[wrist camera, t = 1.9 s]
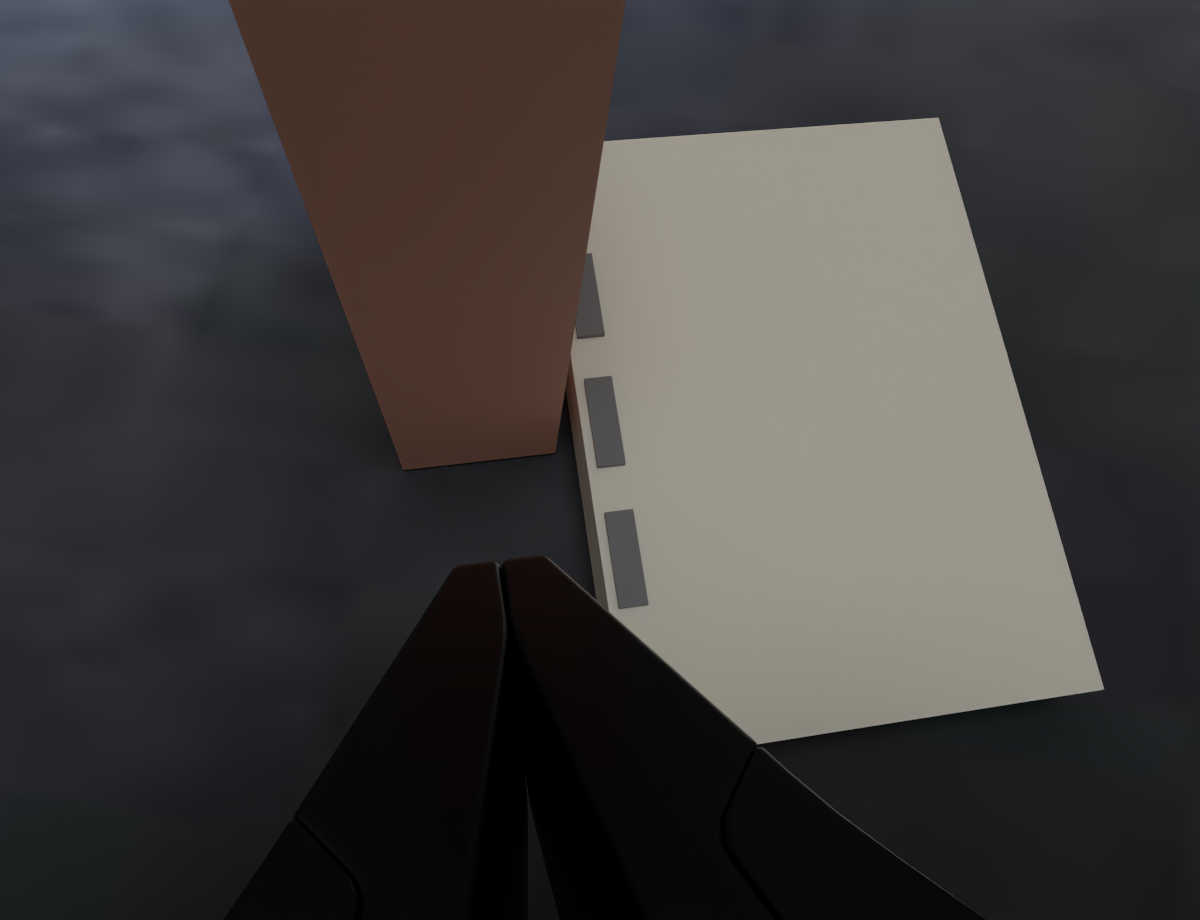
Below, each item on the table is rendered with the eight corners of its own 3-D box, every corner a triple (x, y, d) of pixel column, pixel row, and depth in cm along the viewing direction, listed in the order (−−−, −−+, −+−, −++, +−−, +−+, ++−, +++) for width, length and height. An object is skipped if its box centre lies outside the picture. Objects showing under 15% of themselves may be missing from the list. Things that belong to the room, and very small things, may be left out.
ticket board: (1051, 694, 22) (1108, 688, 20) (620, 763, 20) (632, 764, 18) (906, 165, 25) (941, 113, 23) (536, 193, 24) (539, 142, 22)
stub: (557, 452, 22) (647, -97, 8) (401, 470, 22) (192, -79, 7) (525, 226, 24) (551, -567, 9) (379, 238, 23) (176, -576, 9)
